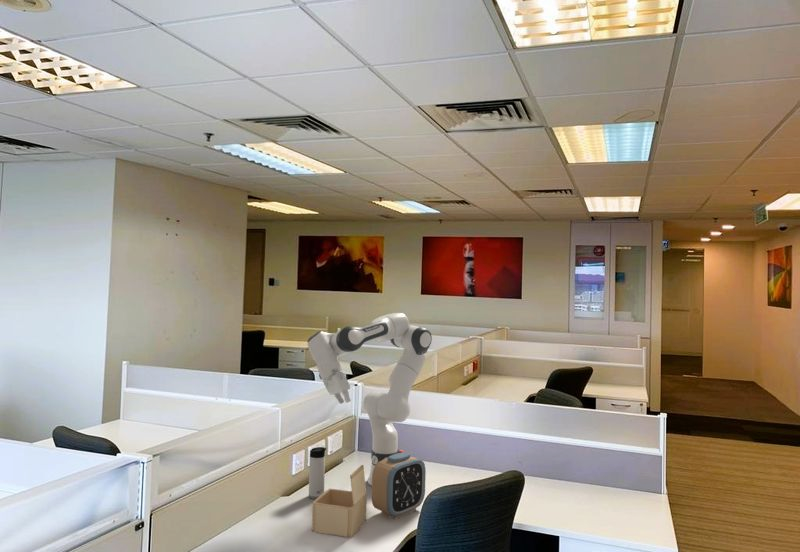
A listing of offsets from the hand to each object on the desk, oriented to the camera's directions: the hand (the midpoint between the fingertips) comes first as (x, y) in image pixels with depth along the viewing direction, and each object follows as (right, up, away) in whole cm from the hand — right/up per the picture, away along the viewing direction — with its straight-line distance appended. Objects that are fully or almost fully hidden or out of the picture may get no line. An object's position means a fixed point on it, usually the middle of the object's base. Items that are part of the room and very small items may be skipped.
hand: (345, 402), depth 226 cm
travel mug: (-12, -40, +7) cm, 43 cm away
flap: (+7, -30, -22) cm, 38 cm away
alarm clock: (+21, -41, -7) cm, 47 cm away
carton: (0, -40, -21) cm, 45 cm away
